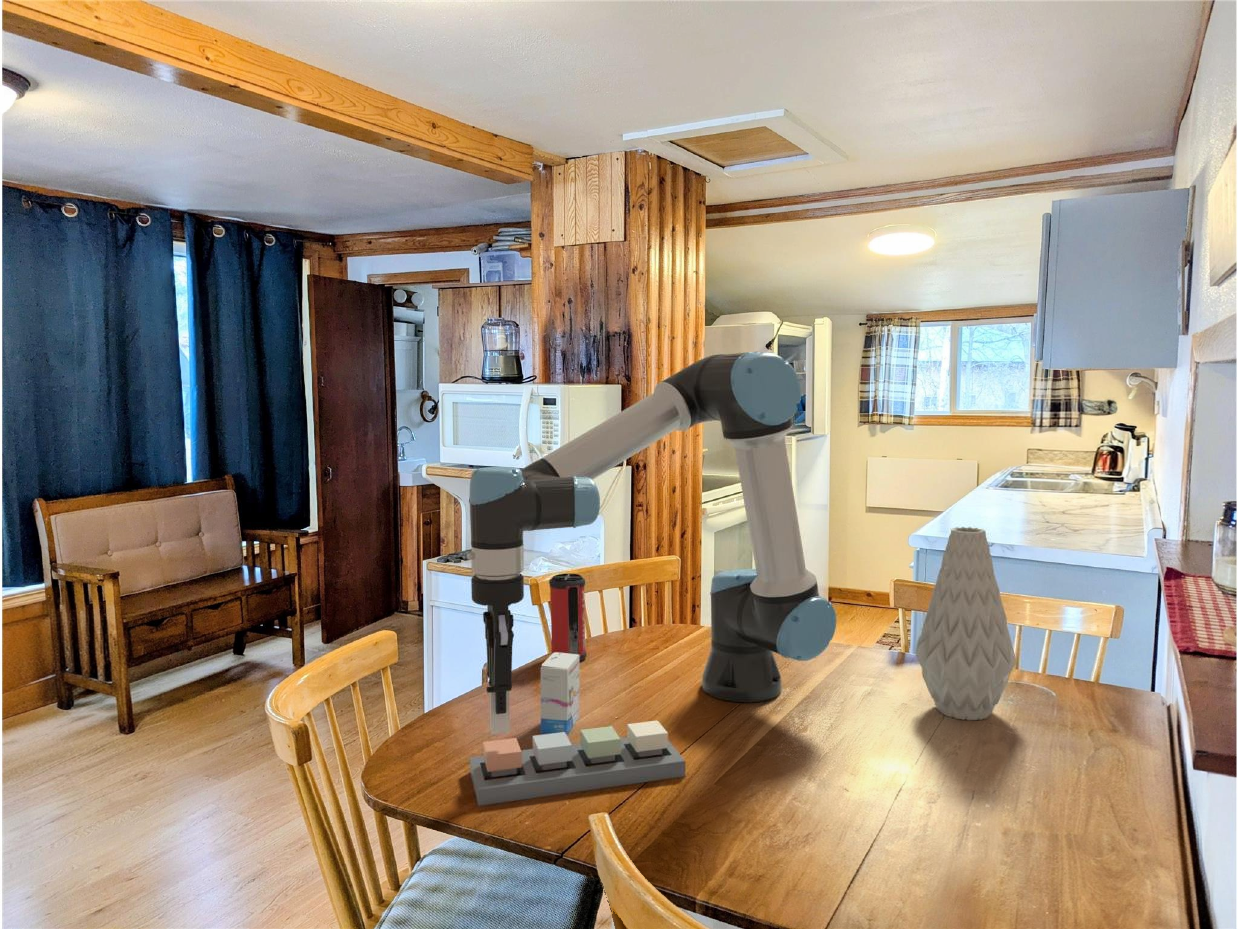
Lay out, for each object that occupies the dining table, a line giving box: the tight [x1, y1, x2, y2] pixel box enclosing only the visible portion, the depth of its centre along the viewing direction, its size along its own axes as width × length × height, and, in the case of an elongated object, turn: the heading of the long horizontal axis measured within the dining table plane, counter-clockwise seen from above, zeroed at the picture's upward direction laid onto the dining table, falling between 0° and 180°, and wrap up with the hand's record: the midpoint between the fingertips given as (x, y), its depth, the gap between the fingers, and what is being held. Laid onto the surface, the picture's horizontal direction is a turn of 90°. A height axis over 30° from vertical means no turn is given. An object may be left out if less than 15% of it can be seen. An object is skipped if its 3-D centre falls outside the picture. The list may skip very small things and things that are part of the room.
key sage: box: [580, 725, 621, 764], centre depth 131 cm, size 5×5×4 cm
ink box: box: [540, 652, 580, 736], centre depth 149 cm, size 9×5×12 cm, turn 168°
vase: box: [914, 526, 1018, 721], centre depth 152 cm, size 17×17×33 cm
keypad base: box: [469, 736, 686, 807], centre depth 131 cm, size 31×11×2 cm, turn 106°
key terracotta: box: [482, 737, 522, 778], centre depth 127 cm, size 5×5×4 cm
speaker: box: [548, 572, 587, 662], centre depth 184 cm, size 8×8×18 cm
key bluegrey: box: [532, 732, 573, 771], centre depth 129 cm, size 5×5×4 cm
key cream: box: [626, 720, 669, 758], centre depth 133 cm, size 5×5×4 cm
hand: (499, 731), depth 127 cm, fingers closed
